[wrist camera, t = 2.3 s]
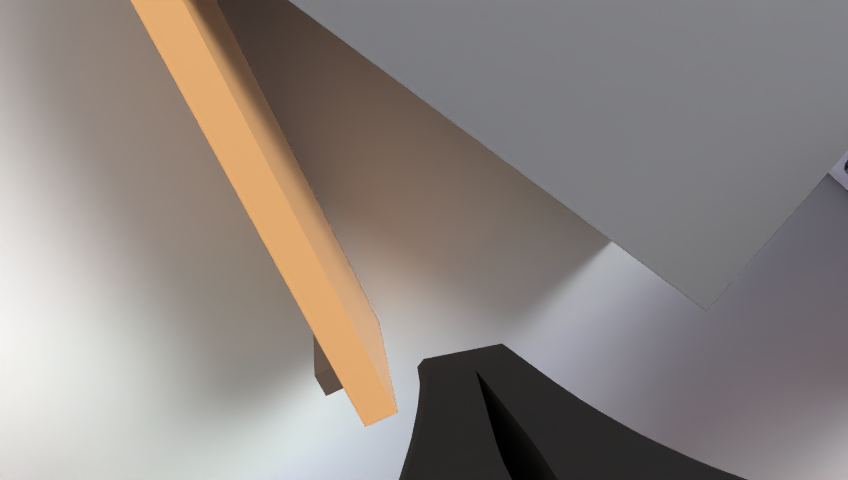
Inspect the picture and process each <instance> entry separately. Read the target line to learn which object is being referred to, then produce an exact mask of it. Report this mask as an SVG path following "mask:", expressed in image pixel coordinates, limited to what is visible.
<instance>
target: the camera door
mask: <svg viewBox="0 0 848 480" xmlns="http://www.w3.org/2000/svg"><path fill="white" fill-rule="evenodd" d="M131 2H132V4H133V6H134V8H135V10H136V11H137V13H138V15H139V17H140V19H141V20H142V22H143V24H144V26H145V28H146V29H147V31H148V33H149V35H150V37H151V39H152V40H153V42H154V44H155V46H156V48H157V49H158V51H159V53H160V55H161V57H162V59H163V60H164V62H165V64H166V66H167V68H168V69H169V71H170V73H171V75H172V77H173V79H174V80H175V82H176V84H177V86H178V88H179V89H180V91H181V93H182V95H183V97H184V99H185V100H186V102H187V104H188V106H189V108H190V109H191V111H192V113H193V115H194V117H195V119H196V120H197V122H198V124H199V126H200V128H201V129H202V131H203V133H204V135H205V137H206V139H207V140H208V142H209V144H210V146H211V148H212V149H213V151H214V153H215V155H216V157H217V159H218V160H219V162H220V164H221V166H222V168H223V169H224V171H225V173H226V175H227V177H228V179H229V180H230V182H231V184H232V186H233V188H234V189H235V191H236V193H237V195H238V197H239V199H240V200H241V202H242V204H243V206H244V208H245V209H246V211H247V213H248V215H249V217H250V219H251V220H252V222H253V224H254V226H255V228H256V229H257V231H258V233H259V235H260V237H261V238H262V240H263V242H264V244H265V246H266V248H267V249H268V251H269V253H270V255H271V257H272V258H273V260H274V262H275V264H276V266H277V268H278V269H279V271H280V273H281V275H282V277H283V278H284V280H285V282H286V284H287V286H288V288H289V289H290V291H291V293H292V295H293V297H294V298H295V300H296V302H297V304H298V306H299V308H300V309H301V311H302V313H303V315H304V317H305V318H306V320H307V322H308V324H309V326H310V328H311V329H312V331H313V333H314V370H315V377H316V379H317V381H318V382H319V384H320V386H321V388H322V389H323V391H324V393H325V395H326V396H327V395H329V394H331V393H334V392H336V391H338V390H340V389H342V388H344V389H345V391H346V393H347V395H348V397H349V398H350V400H351V402H352V404H353V406H354V408H355V409H356V411H357V413H358V415H359V417H360V418H361V420H362V422H363V424H364V426H365V427H366V426H368V425H371V424H373V423H375V422H377V421H379V420H382V419H384V418H386V417H388V416H391V415H393V414H395V413H397V412H398V410H397V405H396V401H395V396H394V391H393V386H392V382H391V377H390V372H389V367H388V363H387V358H386V353H385V348H384V343H383V339H382V334H381V329H380V324H379V321H378V319H377V317H376V315H375V313H374V311H373V309H372V307H371V305H370V303H369V301H368V299H367V297H366V295H365V294H364V292H363V290H362V288H361V286H360V284H359V282H358V280H357V278H356V276H355V274H354V272H353V270H352V268H351V266H350V264H349V262H348V260H347V258H346V256H345V254H344V252H343V250H342V248H341V246H340V244H339V242H338V240H337V238H336V236H335V234H334V232H333V230H332V228H331V226H330V224H329V222H328V220H327V218H326V216H325V214H324V212H323V210H322V208H321V206H320V205H319V203H318V201H317V199H316V197H315V195H314V193H313V191H312V189H311V187H310V185H309V183H308V181H307V179H306V177H305V175H304V173H303V171H302V169H301V167H300V165H299V163H298V161H297V159H296V157H295V155H294V153H293V151H292V149H291V147H290V145H289V143H288V141H287V139H286V137H285V135H284V133H283V131H282V129H281V127H280V125H279V123H278V121H277V119H276V117H275V115H274V114H273V112H272V110H271V108H270V106H269V104H268V102H267V100H266V98H265V96H264V94H263V92H262V90H261V88H260V86H259V84H258V82H257V80H256V78H255V76H254V74H253V72H252V70H251V68H250V66H249V64H248V62H247V60H246V58H245V56H244V54H243V52H242V50H241V48H240V46H239V44H238V42H237V40H236V38H235V36H234V34H233V32H232V30H231V28H230V26H229V25H228V23H227V21H226V19H225V17H224V15H223V13H222V11H221V9H220V7H219V5H218V3H217V1H216V0H131Z"/></svg>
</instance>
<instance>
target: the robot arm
mask: <svg viewBox="0 0 848 480" xmlns="http://www.w3.org/2000/svg"><path fill="white" fill-rule="evenodd" d="M847 160H848V151H847V152H846V153H845V154H844V155H843V156H842V158H841V159H840V160H839V161H838V162H837V163H836V164H835V166H834V167H833V168H832V169H831V170H830V171H829V172H828V173H829V174H830V175H831V176H832V177H833V178H834V179H836V180H837V181H838V182H839V183H840V184H841V185H842V186H843V187H844V188H846V189H847V190H848V169H847V170H844V167H845V163H846V162H847ZM417 368H418V374H419V380H420V391H419V400H418V409H417V414H416V419H415V423H414V428H413V433H412V438H411V442H410V446H409V449H408V452H407V455H406V459H405V462H404V465H403V468H402V472H401V475H400V478H399V480H747V479H744V478H741V477H738V476H736V475H733V474H730V473H727V472H725V471H722V470H719V469H717V468H714V467H712V466H709V465H707V464H704V463H702V462H699V461H697V460H694V459H692V458H690V457H688V456H685V455H683V454H681V453H679V452H677V451H675V450H672V449H670V448H668V447H666V446H664V445H661V444H659V443H657V442H655V441H653V440H651V439H649V438H647V437H645V436H643V435H641V434H639V433H637V432H635V431H633V430H631V429H630V428H628V427H626V426H624V425H623V424H621V423H619V422H617V421H616V420H614V419H612V418H610V417H609V416H607V415H605V414H603V413H601V412H600V411H598V410H597V409H595V408H593V407H592V406H590V405H588V404H587V403H585V402H584V401H582V400H581V399H579V398H578V397H576V396H575V395H573V394H572V393H570V392H568V391H567V390H565V389H564V388H563V387H561V386H560V385H558V384H557V383H555V382H554V381H553V380H551V379H550V378H548V377H547V376H546V375H544V374H543V373H542V372H540V371H539V370H537V369H536V368H535V367H533V366H532V365H531V364H529V363H528V362H527V361H525V360H524V359H523V358H521V357H520V356H519V355H517V354H516V353H514V352H513V351H512V350H510V349H509V348H508V347H506V346H505V345H503V344H498V345H493V346H488V347H483V348H478V349H472V350H467V351H462V352H457V353H452V354H447V355H442V356H437V357H432V358H427V359H424V360H423V361H422V362H421V363H420V365H419V366H418V367H417Z"/></svg>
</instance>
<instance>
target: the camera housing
mask: <svg viewBox="0 0 848 480" xmlns="http://www.w3.org/2000/svg"><path fill="white" fill-rule="evenodd" d="M289 1H290V2H291V3H293V4H294V5H295V6H297V7H298V8H299V9H301V10H302V11H303V12H305V13H306V14H307V15H309V16H310V17H311V18H313V19H314V20H315V21H317V22H318V23H319V24H321V25H322V26H323V27H325V28H326V29H328V30H329V31H330V32H332V33H333V34H334V35H336V36H337V37H338V38H340V39H341V40H342V41H344V42H345V43H346V44H348V45H349V46H350V47H352V48H353V49H354V50H356V51H357V52H358V53H360V54H361V55H362V56H364V57H365V58H367V59H368V60H369V61H371V62H372V63H373V64H375V65H376V66H377V67H379V68H380V69H381V70H383V71H384V72H385V73H387V74H388V75H389V76H391V77H392V78H393V79H395V80H396V81H397V82H399V83H400V84H402V85H403V86H404V87H406V88H407V89H408V90H410V91H411V92H412V93H414V94H415V95H416V96H418V97H419V98H420V99H422V100H423V101H424V102H426V103H427V104H428V105H430V106H431V107H432V108H434V109H435V110H436V111H438V112H439V113H441V114H442V115H443V116H445V117H446V118H447V119H449V120H450V121H451V122H453V123H454V124H455V125H457V126H458V127H459V128H461V129H462V130H463V131H465V132H466V133H467V134H469V135H470V136H471V137H473V138H474V139H475V140H477V141H478V142H480V143H481V144H482V145H484V146H485V147H486V148H488V149H489V150H490V151H492V152H493V153H494V154H496V155H497V156H498V157H500V158H501V159H502V160H504V161H505V162H506V163H508V164H509V165H510V166H512V167H513V168H514V169H516V170H517V171H519V172H520V173H521V174H523V175H524V176H525V177H527V178H528V179H529V180H531V181H532V182H533V183H535V184H536V185H537V186H539V187H540V188H541V189H543V190H544V191H545V192H547V193H548V194H549V195H551V196H552V197H553V198H555V199H556V200H558V201H559V202H560V203H562V204H563V205H564V206H566V207H567V208H568V209H570V210H571V211H572V212H574V213H575V214H576V215H578V216H579V217H580V218H582V219H583V220H584V221H586V222H587V223H588V224H590V225H591V226H592V227H594V228H595V229H597V230H598V231H599V232H601V233H602V234H603V235H605V236H606V237H607V238H609V239H610V240H611V241H613V242H614V243H615V244H617V245H618V246H619V247H621V248H622V249H623V250H625V251H626V252H627V253H629V254H630V255H631V256H633V257H634V258H636V259H637V260H638V261H640V262H641V263H642V264H644V265H645V266H646V267H648V268H649V269H650V270H652V271H653V272H654V273H656V274H657V275H658V276H660V277H661V278H662V279H664V280H665V281H666V282H668V283H669V284H670V285H672V286H673V287H675V288H676V289H677V290H679V291H680V292H681V293H683V294H684V295H685V296H687V297H688V298H689V299H691V300H692V301H693V302H695V303H696V304H697V305H699V306H700V307H701V308H703V309H704V310H705V311H707V310H708V309H709V307H710V306H711V305H712V304H713V303H714V302H715V301H716V300H717V298H718V297H719V296H720V295H721V294H722V293H723V292H724V290H725V289H726V288H727V287H728V286H729V285H730V284H731V283H732V281H733V280H734V279H735V278H736V277H737V276H738V275H739V273H740V272H741V271H742V270H743V269H744V268H745V267H746V265H747V264H748V263H749V262H750V261H751V260H752V259H753V258H754V256H755V255H756V254H757V253H758V252H759V251H760V250H761V248H762V247H763V246H764V245H765V244H766V243H767V242H768V240H769V239H770V238H771V237H772V236H773V235H774V234H775V233H776V231H777V230H778V229H779V228H780V227H781V226H782V225H783V223H784V222H785V221H786V220H787V219H788V218H789V217H790V216H791V214H792V213H793V212H794V211H795V210H796V209H797V208H798V206H799V205H800V204H801V203H802V202H803V201H804V200H805V198H806V197H807V196H808V195H809V194H810V193H811V192H812V191H813V189H814V188H815V187H816V186H817V185H818V184H819V183H820V181H821V180H822V179H823V178H824V177H825V176H826V175H827V173H828V172H829V171H830V170H831V169H832V168H833V167H834V166H835V164H836V163H837V162H838V161H839V160H840V159H841V158H842V156H843V155H844V154H845V153H846V152H847V151H848V0H289Z"/></svg>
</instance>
